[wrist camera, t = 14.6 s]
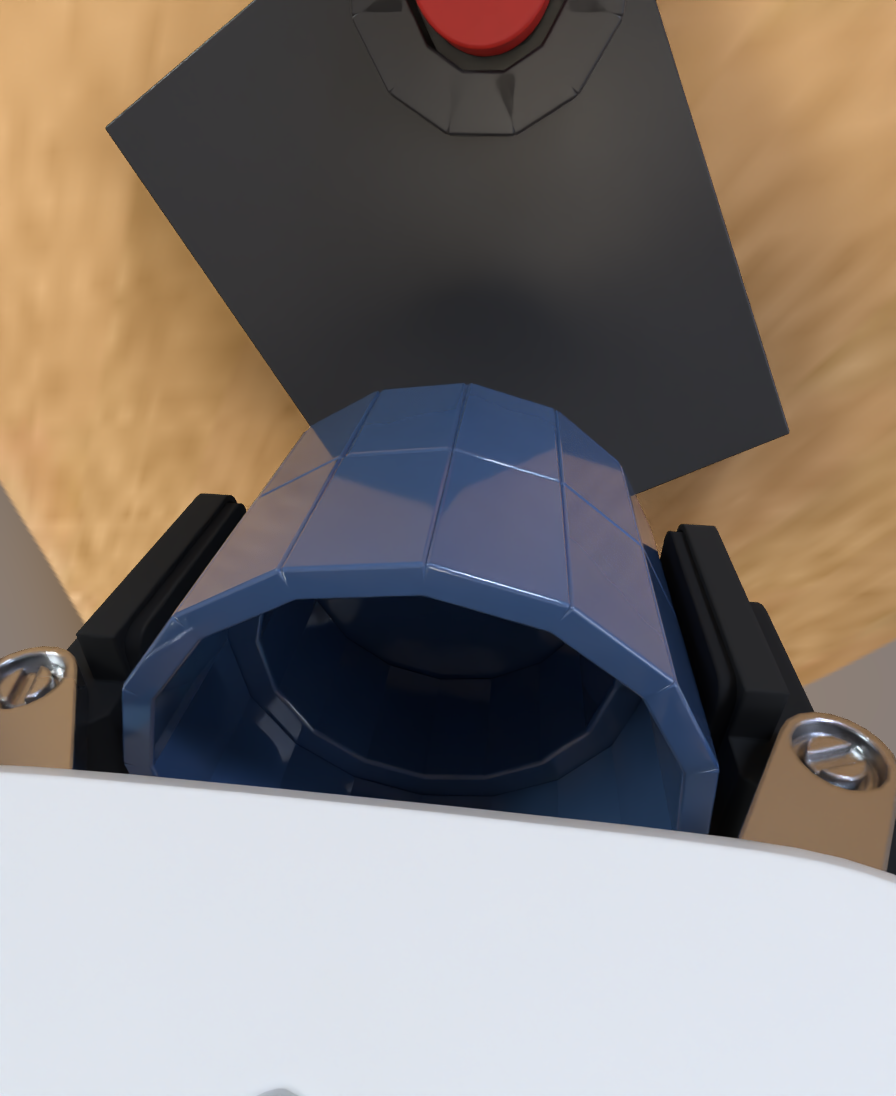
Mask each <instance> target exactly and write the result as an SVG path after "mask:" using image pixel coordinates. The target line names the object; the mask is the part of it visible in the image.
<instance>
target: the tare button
mask: <svg viewBox="0 0 896 1096" xmlns="http://www.w3.org/2000/svg"><path fill="white" fill-rule="evenodd" d="M549 1H550V0H416V2H417V4H418V6H419V8H420V10H421V12H422V14H423V16H424V17H425V19H426V20H427V21H428V23H429V24H430V25H431V27H432V28H433V29H434V30H435V31H436V32H437V33H438V34H439V35H441V36H442V37H443V38H444V39H445V40H446V41H448V42H449V43H450V44H451V45H452V46H454V47H455V48H457V49H459V50H460V51H463V52H465V53H467V54H471V55H474V56H483V57H486V56H495V55H499V54H502V53H505V52H507V51H509V50H511V49H513V48H514V47H516V46H518V45H519V44H520V43H521V42H523V41H524V40H525V39H526V38H527V37H528V36H529V35H530V34H531V33H532V32H533V30H534V29H535V28H536V26H537V25H538V24H539V22H540V20H541V19H542V17H543V15H544V13H545V11H546V9H547V6H548V4H549Z"/></svg>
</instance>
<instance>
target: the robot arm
mask: <svg viewBox="0 0 896 1096" xmlns="http://www.w3.org/2000/svg"><path fill="white" fill-rule="evenodd" d="M245 513H246V509H245V507H244V505H243V504H239V503H237V502H236V500H235V498H234V497H233V496H232V495H219V494H200V495H198V496H197V497H196V498H195V499H194V500H193V502H192V503H191V504H190V505H189V506H188V507H187V508H186V510H185V511H184V512H183V513H182V514H181V515H180V516H179V518H178V519H177V520H176V521H175V522H174V523H173V524H172V525H171V527H170V528H169V529H168V530H167V531H166V532H165V533H164V535H163V536H162V537H161V538H160V539H159V540H158V541H157V543H156V544H155V545H154V546H153V547H152V548H151V549H150V550H149V552H148V553H147V554H146V555H145V556H144V557H143V558H142V560H141V561H140V562H139V563H138V564H137V565H136V566H135V568H134V569H133V570H132V571H131V572H130V573H129V574H128V575H127V577H126V578H125V579H124V580H123V581H122V582H121V583H120V585H119V586H118V587H117V588H116V589H115V590H114V591H113V593H112V594H111V595H110V596H109V597H108V598H107V599H106V600H105V602H104V603H103V604H102V605H101V606H100V607H99V608H98V610H97V611H96V612H95V613H94V614H93V615H92V616H91V618H90V619H89V620H88V621H87V622H86V623H85V624H84V626H83V627H82V628H81V629H80V630H79V631H78V632H77V634H76V636H77V639H76V640H75V641H74V642H73V643H72V645H71V646H70V647H69V648H68V649H67V650H64V649H61V648H58V647H45V646H42V647H35V648H29V649H24V650H21V651H18V652H15V653H12V654H9V655H7V656H5V657H3V658H1V659H0V1096H896V758H895V756H894V754H893V753H892V752H891V751H890V750H889V749H888V747H887V746H886V745H885V744H884V743H883V742H882V741H881V740H880V739H879V738H877V737H876V736H874V735H873V734H872V733H871V732H869V731H868V730H867V729H865V728H863V727H861V726H859V725H857V724H856V723H853V722H852V721H850V720H848V719H844V718H841V717H838V716H835V715H832V714H826V713H817V712H814V711H813V708H812V706H811V704H810V702H809V700H808V698H807V696H806V694H805V691H804V689H803V687H802V685H801V683H800V681H799V679H798V677H797V674H796V672H795V670H794V668H793V666H792V664H791V662H790V660H789V657H788V655H787V653H786V651H785V649H784V647H783V645H782V643H781V640H780V638H779V636H778V634H777V632H776V630H775V628H774V626H773V624H772V621H771V619H770V617H769V615H768V613H767V611H766V609H765V608H764V606H763V605H762V604H760V603H758V602H749V600H748V598H747V596H746V594H745V591H744V589H743V587H742V585H741V582H740V580H739V578H738V576H737V573H736V571H735V569H734V567H733V564H732V562H731V560H730V558H729V555H728V553H727V551H726V549H725V546H724V544H723V542H722V540H721V537H720V535H719V533H718V531H717V529H716V527H715V526H705V525H689V524H681V525H680V526H679V527H678V529H677V532H672V531H668V532H667V534H666V536H665V540H664V544H663V548H662V553H661V557H660V562H661V565H662V569H663V572H664V576H665V579H666V583H667V586H668V590H669V593H670V597H671V600H672V604H673V607H674V611H675V614H676V619H677V621H678V624H679V627H680V631H681V634H682V638H683V641H684V645H685V648H686V652H687V655H688V659H689V662H690V666H691V669H692V673H693V676H694V680H695V683H696V686H697V690H698V693H699V697H700V700H701V704H702V707H703V711H704V714H705V718H706V721H707V725H708V728H709V732H710V735H711V739H712V742H713V746H714V749H715V753H716V756H717V760H718V763H719V769H720V772H719V778H718V784H717V790H716V796H715V803H714V809H713V815H712V821H711V827H710V834H709V835H706V834H698V833H690V832H681V831H673V830H665V829H657V828H649V827H641V826H633V825H624V824H614V823H605V822H596V821H586V820H577V819H568V818H558V817H549V816H540V815H530V814H521V813H512V812H502V811H493V810H484V809H475V808H465V807H455V806H446V805H436V804H426V803H416V802H407V801H397V800H387V799H378V798H368V797H358V796H348V795H338V794H328V793H318V792H308V791H298V790H288V789H279V788H268V787H258V786H247V785H237V784H227V783H216V782H206V781H195V780H185V779H175V778H164V777H154V776H144V775H133V774H129V773H128V771H127V770H126V768H125V766H124V762H123V750H122V687H123V683H124V681H125V680H126V679H127V677H128V676H129V674H130V673H131V672H132V670H133V669H134V667H135V666H136V665H137V663H138V662H139V660H140V659H141V658H142V656H143V655H144V653H145V652H146V651H147V649H148V648H149V646H150V645H151V644H152V642H153V641H154V639H155V638H156V637H157V635H158V634H159V632H160V631H161V630H162V628H163V627H164V625H165V624H166V623H167V621H168V620H169V618H170V617H171V616H172V614H173V613H174V611H175V610H176V609H177V607H178V606H179V605H180V603H181V602H182V600H183V599H184V598H185V596H186V595H187V593H188V592H189V591H190V589H191V588H192V587H193V585H194V584H195V582H196V581H197V580H198V578H199V577H200V575H201V574H202V573H203V571H204V570H205V569H206V567H207V566H208V564H209V563H210V562H211V560H212V559H213V557H214V556H215V555H216V553H217V552H218V551H219V549H220V548H221V546H222V545H223V544H224V542H225V541H226V539H227V538H228V537H229V535H230V534H231V533H232V531H233V530H234V528H235V527H236V526H237V524H238V523H239V521H240V520H241V519H242V517H243V516H244V515H245Z"/></svg>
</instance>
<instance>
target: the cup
mask: <svg viewBox="0 0 896 1096" xmlns="http://www.w3.org/2000/svg"><path fill="white" fill-rule="evenodd" d="M122 750H123V762H124V766H125V768H126V770H127V771H128V773H129V774H133V775H144V776H154V777H164V778H175V779H185V780H195V781H206V782H216V783H227V784H237V785H247V786H258V787H268V788H279V789H288V790H298V791H308V792H318V793H328V794H338V795H348V796H358V797H368V798H378V799H387V800H397V801H407V802H416V803H426V804H436V805H446V806H455V807H465V808H475V809H484V810H493V811H502V812H512V813H521V814H530V815H540V816H549V817H558V818H568V819H577V820H586V821H596V822H605V823H614V824H624V825H633V826H641V827H649V828H657V829H665V830H673V831H681V832H690V833H698V834H706V835H709V834H710V827H711V821H712V815H713V809H714V803H715V796H716V790H717V784H718V778H719V772H720V769H719V763H718V760H717V756H716V753H715V749H714V746H713V742H712V739H711V735H710V732H709V728H708V725H707V721H706V718H705V714H704V711H703V707H702V704H701V700H700V697H699V693H698V690H697V686H696V683H695V680H694V676H693V673H692V669H691V666H690V662H689V659H688V655H687V652H686V648H685V645H684V641H683V638H682V634H681V631H680V627H679V624H678V621H677V619H676V614H675V611H674V607H673V604H672V600H671V597H670V593H669V590H668V586H667V583H666V579H665V576H664V572H663V569H662V565H661V562H660V558H659V555H658V551H657V548H656V544H655V541H654V537H653V534H652V530H651V528H650V525H649V523H648V521H647V519H646V517H645V515H644V512H643V510H642V508H641V506H640V504H639V501H638V499H637V497H636V495H635V493H634V490H633V488H632V486H631V484H630V482H629V480H628V477H627V475H626V473H625V471H624V469H623V467H622V466H620V463H619V461H617V460H616V459H615V458H614V457H613V456H612V455H610V454H609V453H608V452H607V451H606V450H604V449H603V448H602V447H601V446H600V445H598V444H597V443H596V442H595V441H594V440H592V439H591V438H590V437H589V436H588V435H587V434H585V433H584V432H583V431H582V430H581V429H579V428H578V427H577V426H576V425H575V424H573V423H572V422H571V421H570V420H569V419H567V418H566V417H565V416H564V415H563V414H561V413H560V412H559V411H557V410H556V411H555V410H554V409H553V408H551V407H547V406H544V405H541V404H538V403H534V402H531V401H528V400H525V399H522V398H518V397H515V396H512V395H509V394H506V393H502V392H499V391H496V390H493V389H490V388H486V387H483V386H480V385H477V384H473V383H469V385H467V384H464V383H459V384H447V385H434V386H422V387H409V388H397V389H385V390H382V391H381V392H379V391H376V392H373V393H371V394H370V395H368V396H366V397H364V398H362V399H360V400H358V401H356V402H355V403H353V404H351V405H349V406H347V407H345V408H343V409H341V410H340V411H338V412H336V413H334V414H332V415H330V416H328V417H326V418H325V419H323V420H321V421H319V422H317V423H315V424H313V425H311V426H310V428H309V429H308V430H307V431H306V432H304V433H303V434H302V436H301V437H300V438H299V440H298V441H297V443H296V444H295V445H294V447H293V448H292V450H291V451H290V452H289V454H288V455H287V456H286V458H285V459H284V461H283V462H282V463H281V465H280V466H279V468H278V469H277V470H276V472H275V473H274V474H273V476H272V477H271V479H270V480H269V481H268V483H267V484H266V486H265V487H264V488H263V490H262V491H261V492H260V494H259V495H258V497H257V498H256V499H255V501H254V502H253V503H252V505H251V506H250V508H249V509H248V510H247V512H246V513H245V515H244V516H243V517H242V519H241V520H240V521H239V523H238V524H237V526H236V527H235V528H234V530H233V531H232V533H231V534H230V535H229V537H228V538H227V539H226V541H225V542H224V544H223V545H222V546H221V548H220V549H219V551H218V552H217V553H216V555H215V556H214V557H213V559H212V560H211V562H210V563H209V564H208V566H207V567H206V569H205V570H204V571H203V573H202V574H201V575H200V577H199V578H198V580H197V581H196V582H195V584H194V585H193V587H192V588H191V589H190V591H189V592H188V593H187V595H186V596H185V598H184V599H183V600H182V602H181V603H180V605H179V606H178V607H177V609H176V610H175V611H174V613H173V614H172V616H171V617H170V618H169V620H168V621H167V623H166V624H165V625H164V627H163V628H162V630H161V631H160V632H159V634H158V635H157V637H156V638H155V639H154V641H153V642H152V644H151V645H150V646H149V648H148V649H147V651H146V652H145V653H144V655H143V656H142V658H141V659H140V660H139V662H138V663H137V665H136V666H135V667H134V669H133V670H132V672H131V673H130V674H129V676H128V677H127V679H126V680H125V681H124V683H123V687H122Z"/></svg>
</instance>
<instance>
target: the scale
mask: <svg viewBox="0 0 896 1096" xmlns="http://www.w3.org/2000/svg"><path fill="white" fill-rule="evenodd" d="M106 130H107V132H108V133H109V135H110V136H111V138H112V139H113V141H114V142H115V143H116V145H117V146H118V148H119V149H120V151H121V152H122V154H123V155H124V157H125V158H126V159H127V161H128V162H129V164H130V165H131V167H132V168H133V170H134V171H135V173H136V174H137V175H138V177H139V178H140V180H141V181H142V183H143V184H144V186H145V187H146V188H147V190H148V191H149V193H150V194H151V196H152V197H153V199H154V200H155V202H156V203H157V204H158V206H159V207H160V209H161V210H162V212H163V213H164V215H165V216H166V217H167V219H168V220H169V222H170V223H171V225H172V226H173V228H174V229H175V231H176V232H177V233H178V235H179V236H180V238H181V239H182V241H183V242H184V244H185V245H186V247H187V248H188V249H189V251H190V252H191V254H192V255H193V257H194V258H195V260H196V261H197V262H198V264H199V265H200V267H201V268H202V270H203V271H204V273H205V274H206V276H207V277H208V278H209V280H210V281H211V283H212V284H213V286H214V287H215V289H216V290H217V291H218V293H219V294H220V296H221V297H222V299H223V300H224V302H225V303H226V305H227V306H228V307H229V309H230V310H231V312H232V313H233V315H234V316H235V318H236V319H237V321H238V322H239V323H240V325H241V326H242V328H243V329H244V331H245V332H246V334H247V335H248V336H249V338H250V339H251V341H252V342H253V344H254V345H255V347H256V348H257V350H258V351H259V352H260V354H261V355H262V357H263V358H264V360H265V361H266V363H267V364H268V366H269V367H270V368H271V370H272V371H273V373H274V374H275V376H276V377H277V379H278V380H279V381H280V383H281V384H282V386H283V387H284V389H285V390H286V392H287V393H288V395H289V396H290V397H291V399H292V400H293V402H294V403H295V405H296V406H297V408H298V409H299V410H300V412H301V413H302V415H303V416H304V418H305V419H306V421H307V422H308V424H309V425H310V426H311V425H313V424H315V423H317V422H319V421H321V420H323V419H325V418H326V417H328V416H330V415H332V414H334V413H336V412H338V411H340V410H341V409H343V408H345V407H347V406H349V405H351V404H353V403H355V402H356V401H358V400H360V399H362V398H364V397H366V396H368V395H370V394H371V393H373V392H376V391H379V392H381V391H382V390H385V389H397V388H409V387H422V386H434V385H447V384H459V383H464V384H467V385H469V383H473V384H477V385H480V386H483V387H486V388H490V389H493V390H496V391H499V392H502V393H506V394H509V395H512V396H515V397H518V398H522V399H525V400H528V401H531V402H534V403H538V404H541V405H544V406H547V407H551V408H553V409H554V410H555V411H556V410H557V411H559V412H560V413H561V414H563V415H564V416H565V417H566V418H567V419H569V420H570V421H571V422H572V423H573V424H575V425H576V426H577V427H578V428H579V429H581V430H582V431H583V432H584V433H585V434H587V435H588V436H589V437H590V438H591V439H592V440H594V441H595V442H596V443H597V444H598V445H600V446H601V447H602V448H603V449H604V450H606V451H607V452H608V453H609V454H610V455H612V456H613V457H614V458H615V459H616V460H617V461H619V463H620V466H622V467H623V469H624V471H625V473H626V475H627V477H628V480H629V482H630V484H631V486H632V488H633V490H634V493H635V494H638V493H641V492H643V491H646V490H648V489H651V488H653V487H656V486H658V485H661V484H663V483H666V482H668V481H671V480H673V479H676V478H678V477H681V476H683V475H686V474H688V473H691V472H693V471H696V470H698V469H701V468H704V467H706V466H709V465H711V464H714V463H716V462H719V461H721V460H724V459H726V458H729V457H731V456H734V455H736V454H739V453H741V452H744V451H746V450H749V449H751V448H754V447H756V446H759V445H762V444H764V443H767V442H769V441H772V440H774V439H777V438H779V437H782V436H784V435H787V434H789V428H788V425H787V422H786V418H785V415H784V412H783V409H782V406H781V402H780V399H779V396H778V393H777V389H776V386H775V383H774V380H773V377H772V373H771V370H770V367H769V364H768V360H767V357H766V354H765V351H764V348H763V344H762V341H761V338H760V335H759V332H758V328H757V325H756V322H755V319H754V315H753V312H752V309H751V306H750V303H749V299H748V296H747V293H746V290H745V286H744V283H743V280H742V277H741V274H740V270H739V267H738V264H737V261H736V257H735V254H734V251H733V248H732V245H731V241H730V238H729V235H728V232H727V228H726V225H725V222H724V219H723V216H722V212H721V209H720V206H719V203H718V200H717V196H716V193H715V190H714V187H713V183H712V180H711V177H710V174H709V171H708V167H707V164H706V161H705V158H704V154H703V151H702V148H701V145H700V142H699V138H698V135H697V132H696V129H695V125H694V122H693V119H692V116H691V113H690V109H689V106H688V103H687V100H686V97H685V93H684V90H683V87H682V84H681V80H680V77H679V74H678V71H677V68H676V64H675V61H674V58H673V55H672V51H671V48H670V45H669V42H668V39H667V35H666V32H665V29H664V26H663V22H662V19H661V16H660V13H659V10H658V6H657V3H656V0H550V1H549V4H548V6H547V9H546V11H545V13H544V15H543V17H542V19H541V20H540V22H539V24H538V25H537V26H536V28H535V29H534V30H533V32H532V33H531V34H530V35H529V36H528V37H527V38H526V39H525V40H524V41H523V42H521V43H520V44H519V45H518V46H516V47H514V48H513V49H511V50H509V51H507V52H505V53H502V54H499V55H495V56H486V57H483V56H474V55H471V54H467V53H465V52H463V51H460V50H459V49H457V48H455V47H454V46H452V45H451V44H450V43H449V42H448V41H446V40H445V39H444V38H443V37H442V36H441V35H439V34H438V33H437V32H436V31H435V30H434V29H433V28H432V27H431V25H430V24H429V23H428V21H427V20H426V19H425V17H424V16H423V14H422V12H421V10H420V8H419V6H418V4H417V2H416V0H254V1H252V2H251V3H250V4H249V5H248V6H247V7H245V8H244V9H243V10H242V11H241V12H240V13H238V14H237V15H236V16H235V17H234V18H232V19H231V20H230V21H229V22H228V23H227V24H225V25H224V26H223V27H222V28H221V29H220V30H218V31H217V32H216V33H215V34H214V35H213V36H211V37H210V38H209V39H208V40H207V41H206V42H204V43H203V44H202V45H201V46H200V47H199V48H197V49H196V50H195V51H194V52H193V53H191V54H190V55H189V56H188V57H187V58H186V59H184V60H183V61H182V62H181V63H180V64H179V65H177V66H176V67H175V68H174V69H173V70H172V71H170V72H169V73H168V74H167V75H166V76H165V77H163V78H162V79H161V80H160V81H159V82H158V83H156V84H155V85H154V86H153V87H152V88H151V89H149V90H148V91H147V92H146V93H145V94H143V95H142V96H141V97H140V98H139V99H138V100H136V101H135V102H134V103H133V104H132V105H131V106H129V107H128V108H127V109H126V110H125V111H124V112H122V113H121V114H120V115H119V116H118V117H117V118H115V119H114V120H113V121H112V122H111V123H110V124H108V125H107V126H106Z"/></svg>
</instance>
